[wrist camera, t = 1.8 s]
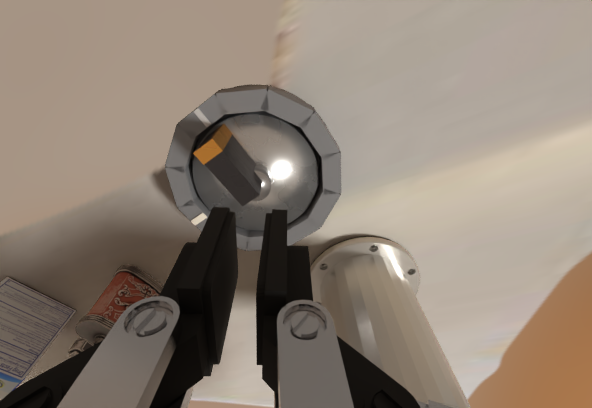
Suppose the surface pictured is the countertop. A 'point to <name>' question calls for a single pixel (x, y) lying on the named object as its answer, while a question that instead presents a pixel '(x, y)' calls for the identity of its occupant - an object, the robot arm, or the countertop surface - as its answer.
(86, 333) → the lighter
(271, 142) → the dial
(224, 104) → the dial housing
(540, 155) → the countertop surface
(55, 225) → the countertop surface
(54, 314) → the medicine box
